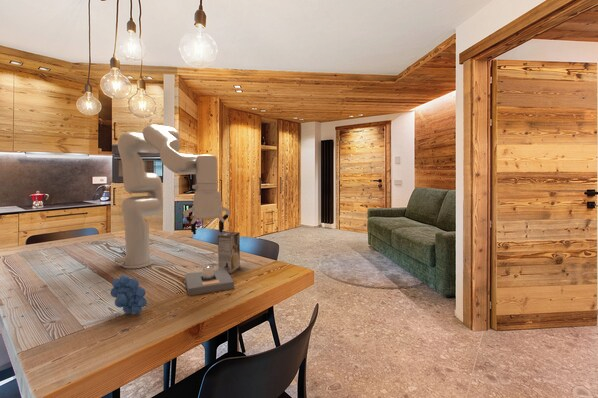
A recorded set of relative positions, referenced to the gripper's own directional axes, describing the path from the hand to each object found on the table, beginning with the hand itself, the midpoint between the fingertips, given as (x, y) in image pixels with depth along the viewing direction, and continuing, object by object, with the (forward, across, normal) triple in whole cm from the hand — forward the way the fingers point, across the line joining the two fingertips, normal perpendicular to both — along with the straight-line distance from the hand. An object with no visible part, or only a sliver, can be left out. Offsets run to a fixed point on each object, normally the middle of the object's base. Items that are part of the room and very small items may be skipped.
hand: (207, 232), depth 110 cm
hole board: (+20, 0, 0) cm, 20 cm away
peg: (+20, 0, 0) cm, 20 cm away
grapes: (+20, -26, -15) cm, 36 cm away
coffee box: (+20, +11, +14) cm, 27 cm away
